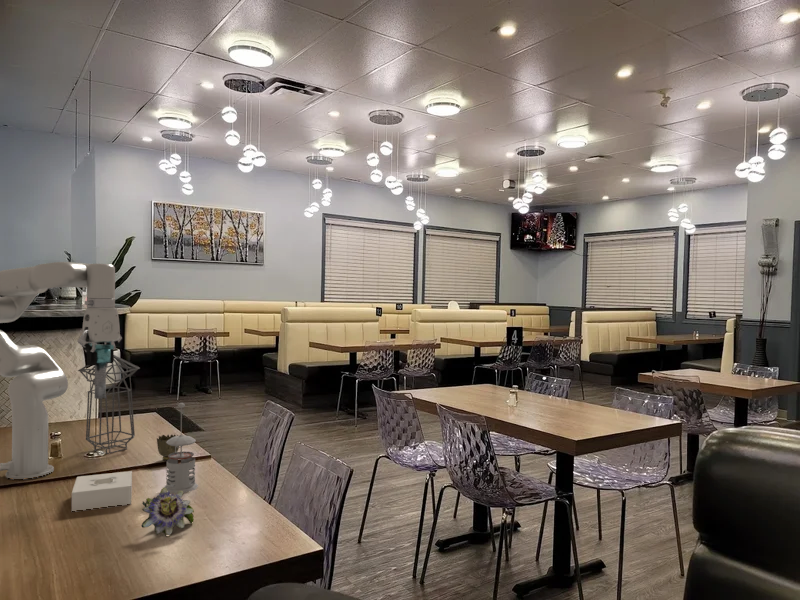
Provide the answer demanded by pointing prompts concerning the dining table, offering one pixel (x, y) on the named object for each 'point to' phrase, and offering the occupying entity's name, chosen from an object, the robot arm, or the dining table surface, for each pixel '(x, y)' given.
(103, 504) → the block
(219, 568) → the dining table surface
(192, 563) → the dining table surface
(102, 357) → the teal strapped cylinder
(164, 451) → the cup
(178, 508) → the passion flower
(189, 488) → the french press
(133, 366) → the geometric lantern
